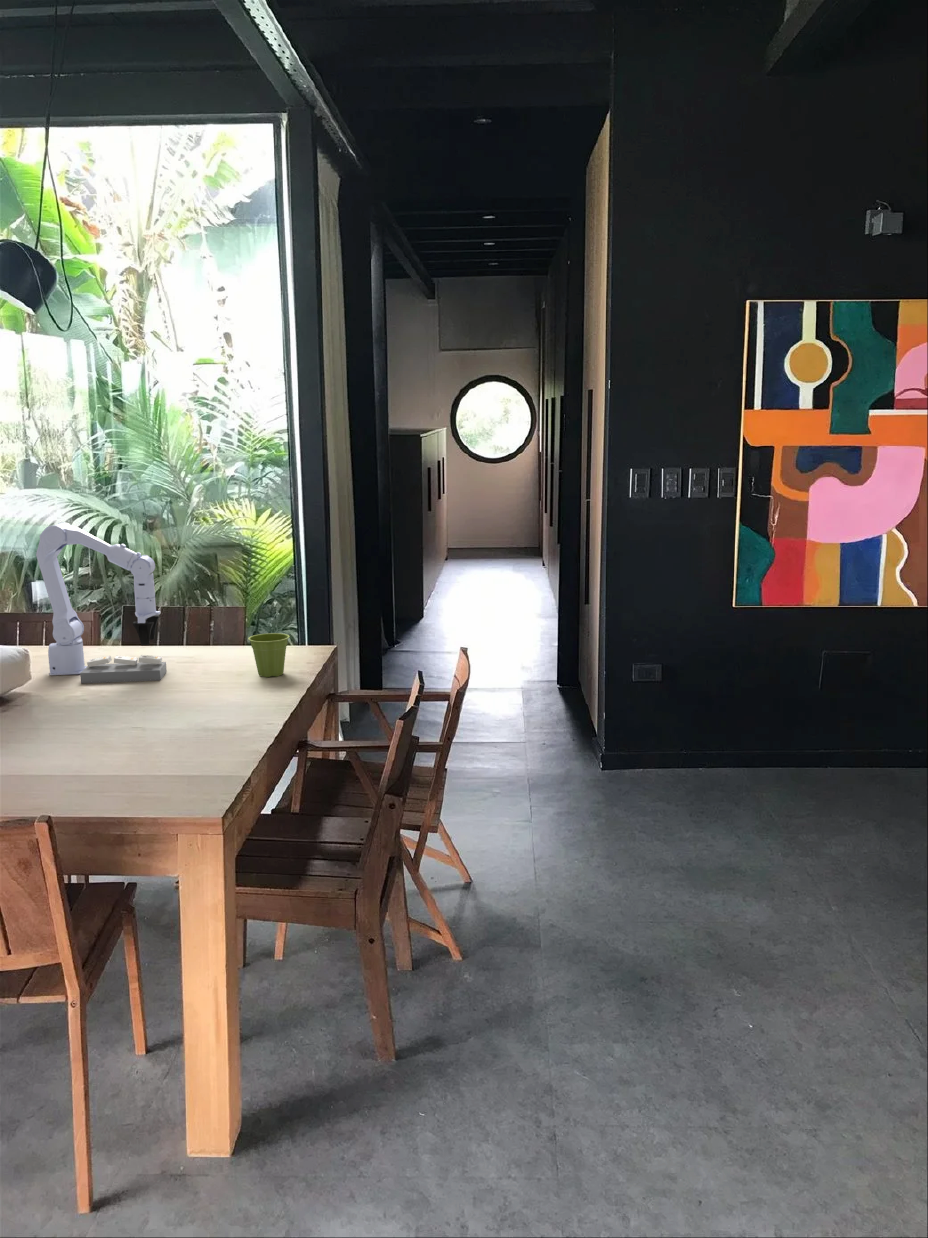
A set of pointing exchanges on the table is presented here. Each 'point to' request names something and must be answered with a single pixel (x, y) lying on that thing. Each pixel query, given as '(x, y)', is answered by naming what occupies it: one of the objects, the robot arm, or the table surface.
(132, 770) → the table surface
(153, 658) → the rocker right
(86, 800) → the table surface
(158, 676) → the grey flat tray
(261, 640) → the plant pot
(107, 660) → the rocker left
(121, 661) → the rocker middle
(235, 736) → the table surface
